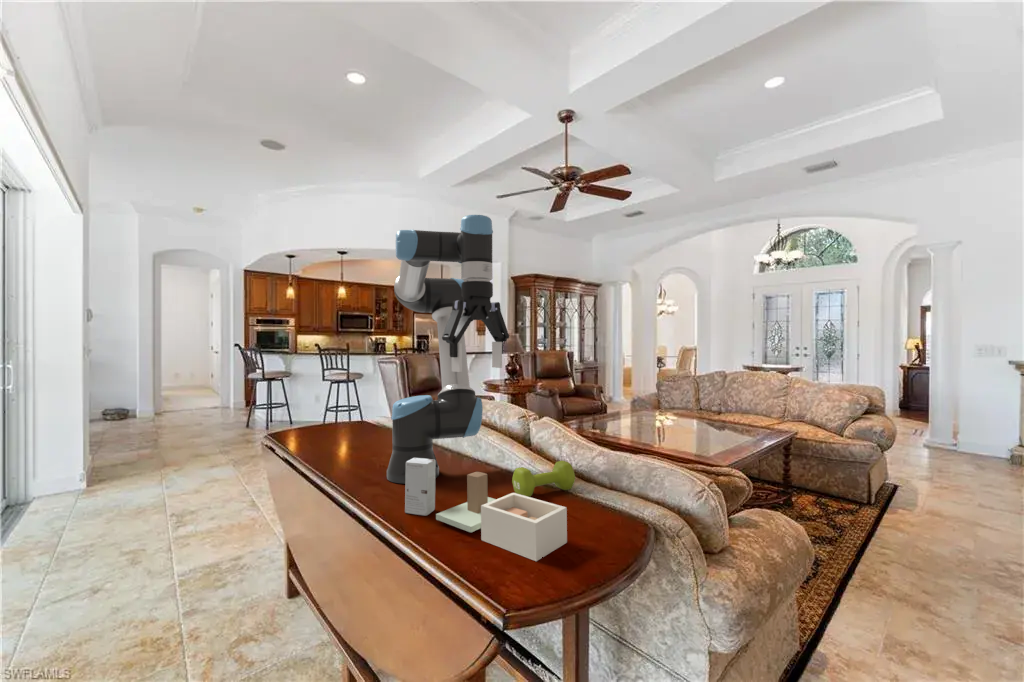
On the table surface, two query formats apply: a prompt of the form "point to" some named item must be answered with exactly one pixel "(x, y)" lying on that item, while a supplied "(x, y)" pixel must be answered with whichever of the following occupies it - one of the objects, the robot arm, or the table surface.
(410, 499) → the skincare box
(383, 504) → the table surface
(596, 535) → the table surface
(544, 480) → the dumbbell
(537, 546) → the box
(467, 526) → the lid
